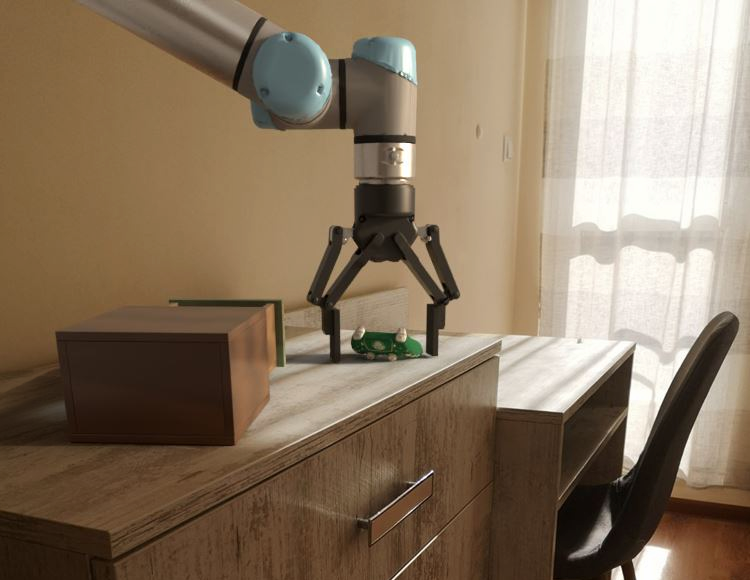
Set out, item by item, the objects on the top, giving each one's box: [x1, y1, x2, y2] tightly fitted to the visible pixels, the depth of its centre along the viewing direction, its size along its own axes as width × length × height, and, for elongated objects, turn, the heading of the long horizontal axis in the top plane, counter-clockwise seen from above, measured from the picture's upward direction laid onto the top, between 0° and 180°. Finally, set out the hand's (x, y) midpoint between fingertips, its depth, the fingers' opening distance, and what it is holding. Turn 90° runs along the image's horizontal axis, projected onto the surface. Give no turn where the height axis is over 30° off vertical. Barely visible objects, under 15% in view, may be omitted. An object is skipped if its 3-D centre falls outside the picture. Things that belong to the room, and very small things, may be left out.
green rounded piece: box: [350, 324, 424, 362], centre depth 107 cm, size 9×4×6 cm
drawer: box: [164, 297, 287, 375], centre depth 93 cm, size 20×13×8 cm
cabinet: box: [54, 305, 271, 446], centre depth 77 cm, size 17×15×10 cm
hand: (384, 357), depth 108 cm, fingers open, 12 cm apart
